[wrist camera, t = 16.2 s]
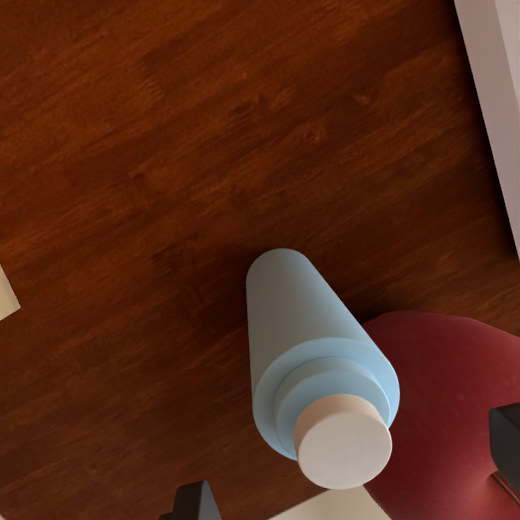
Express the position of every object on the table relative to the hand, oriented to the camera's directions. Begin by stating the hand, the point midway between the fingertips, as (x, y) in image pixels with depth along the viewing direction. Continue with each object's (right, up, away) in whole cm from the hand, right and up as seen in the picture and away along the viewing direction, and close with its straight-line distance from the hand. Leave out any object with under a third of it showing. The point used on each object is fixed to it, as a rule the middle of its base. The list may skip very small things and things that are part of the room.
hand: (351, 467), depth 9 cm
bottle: (-1, +4, +15) cm, 15 cm away
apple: (+8, -1, +17) cm, 19 cm away
